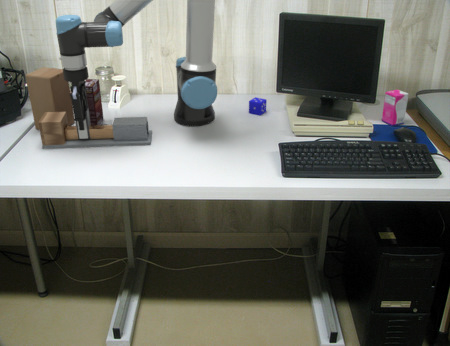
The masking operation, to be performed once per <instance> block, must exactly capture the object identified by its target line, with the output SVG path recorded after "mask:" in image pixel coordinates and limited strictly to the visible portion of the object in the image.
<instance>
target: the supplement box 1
mask: <svg viewBox="0 0 450 346" xmlns="http://www.w3.org/2000/svg"><path fill="white" fill-rule="evenodd" d="M85 82H86V83H85V84H86V94H87V102H88V108H89V111H90V114H89V116H90V123H91V125H103V122H104V120H105V119H104V111H103V110H104V109H103V103H102V94H101V86H100V79H97V78H88V79H87V80H85Z"/></svg>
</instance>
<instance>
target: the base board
mask: <svg viewBox="0 0 450 346" xmlns="http://www.w3.org/2000/svg"><path fill="white" fill-rule="evenodd" d="M148 130H149V134H147V137H148V140H145V141H114V138H103V139H90V140H78V139H71V140H65V141H66V142H65V144H64V145H42V144H41V147H42V149H45V150H46V149H48V150H49V149H73V148H74V149H77V148H78V149H81V148H104V147H107V148H109V147H136V146H139V147H140V146H151V144H152V143H151V142H152V135H153V130H150V129H148Z"/></svg>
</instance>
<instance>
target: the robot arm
mask: <svg viewBox="0 0 450 346" xmlns="http://www.w3.org/2000/svg"><path fill="white" fill-rule="evenodd" d="M153 1H154V0H114V1H113V2H112V3H111V4H110V5H109V6H108V7H106V8H105V9H103V11H101V12H98V14H97V15H95V17H94V19H93V21H86V22H85V21H82V19H81V16H79V15H78V14H63V15H59V16H57V18H56V19H55V28H56V36H57V37H56V38H57V43H58V44H57V45H58V49H59V54H60V56H59V57H58V59H59V60H60V61H61V66H62V69H63V75H64V79H65V81H68V82H69V83H70V84H71V85H69V87H70V97H71V100H72V106H73V113H74V121H75V122H76V121H77V125H78V132H79V138H80V139H86V138H88V132H87V125H86V119H85V118H84V109H83V108H87V107H88V102H87V94H86V84H85V83H86V82H85V81H86V80H87V79H89V70H88V67H87V65H88V61H87V55H86V50H85V48H86V49H88V48H90V49H91V48H114V47H120V46H122V45H123V44H124V35H123V33H124V32H123V27H124V26H125V25H126V24H127V23H129V21H130V20H132V19H133V18H135V16H136V15H138V14H139V13H140V12H142V11H143V9H145V8H146V7H147V6H148V5H150V3H152V2H153ZM186 1H187V2H186V29H185V30H186V33H185V35H186V36H185V56H181V57H178V58H177V59H176V62H175V63H176V64H175V68H176V88H177V102H176V105H175V108H174V113H173V121H174V122H175V123H176V124H179V125H181V126H186V127H200V126H206V125H209V124H212V123H213V122H214V121H215V119H216V115H215V110H214V107H213V104H214V103H215V101H216V100H217V98H218V97H217V96H218V86H217V84H216V82H217V81H216V80H217V79H216V78H217V65H216V64H215V63H214V62H213V50H214V49H213V48H214V32H215V31H214V28H215V27H214V26H215V13H216V12H215V9H216V6H215V5H216V0H186ZM89 114H90V111H89Z"/></svg>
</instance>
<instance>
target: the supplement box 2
mask: <svg viewBox="0 0 450 346" xmlns="http://www.w3.org/2000/svg"><path fill="white" fill-rule="evenodd" d="M408 98H409V93H408V92H405V91H403V90H399V89H392V90H389V91H385V94H384V101H383V108H382V117H381V122H383V123H385V124H387V125H388V126H391V127H395V126H398V125H399V126H400V125H404V124H405V119H406V112H407V111H406V110H407V106H408Z"/></svg>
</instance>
